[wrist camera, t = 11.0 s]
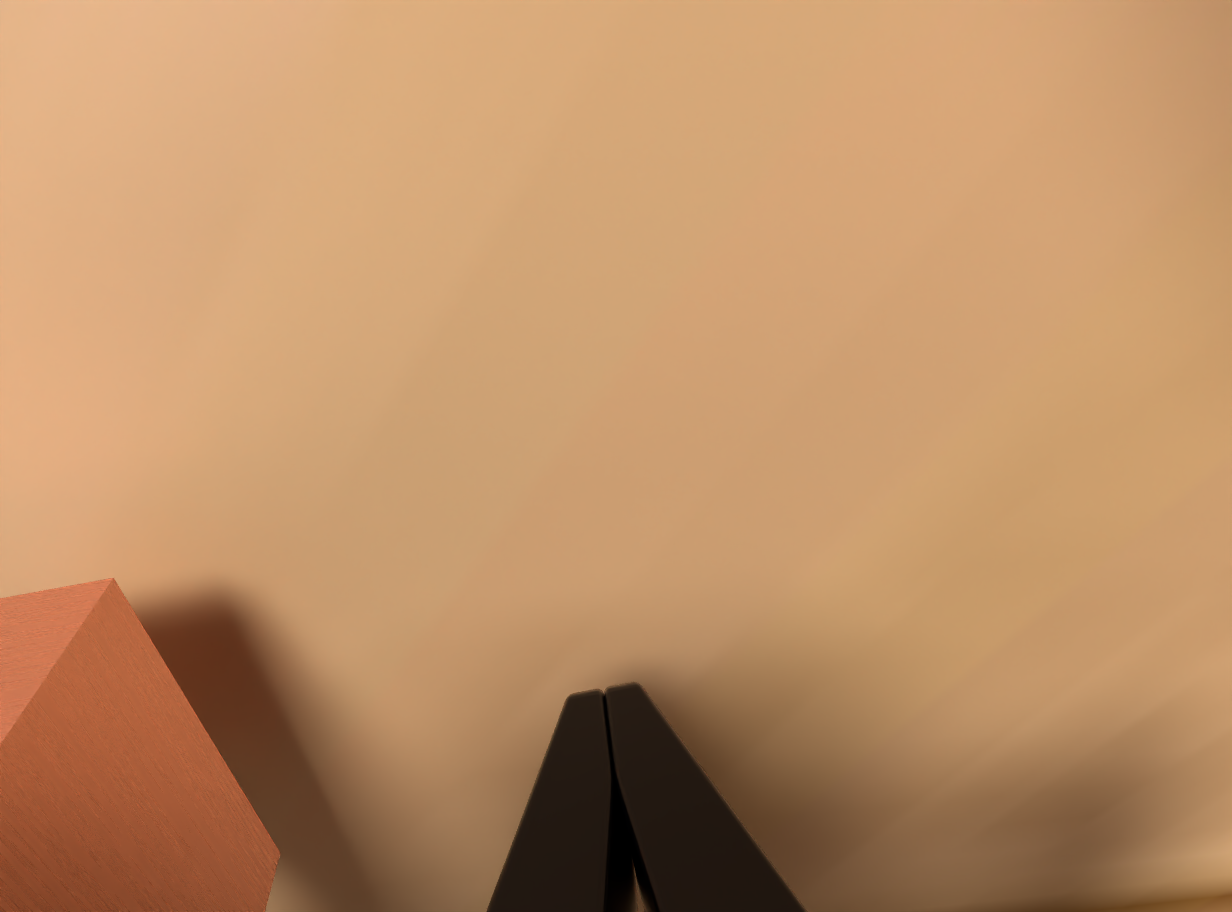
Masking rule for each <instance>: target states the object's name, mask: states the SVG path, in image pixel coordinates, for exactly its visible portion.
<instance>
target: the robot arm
mask: <svg viewBox="0 0 1232 912" xmlns="http://www.w3.org/2000/svg"><path fill="white" fill-rule="evenodd" d="M634 868H635V872H634ZM635 873H636V878H637V882H638V887H639V891H640V895H641V899H642V903H643V907H644V910H645V912H807V911H806V909H805V908H804V906H803V905H802V904H801V902H800V901H799V900H798V898H797V897H796V895H795V894H794V893H793V891H792V890H791V889H790V887H789V886H788V885H787V883H786V882H785V880H784V879H783V878H782V876H781V875H780V874H779V872H778V871H777V870H776V868H775V867H774V865H773V864H772V863H771V861H770V860H769V859H768V857H767V856H766V855H765V853H764V852H763V850H762V849H761V848H760V846H759V845H758V844H757V842H756V841H755V840H754V838H753V837H752V835H751V834H750V833H749V831H748V830H747V829H746V827H745V826H744V825H743V823H742V822H741V820H740V819H739V818H738V816H737V815H736V814H735V812H734V811H733V810H732V808H731V807H730V805H729V804H728V803H727V801H726V800H725V799H724V797H723V796H722V795H721V793H720V792H719V790H718V789H717V788H716V786H715V785H714V784H713V782H712V781H711V779H710V778H709V777H708V775H707V774H706V773H705V771H704V770H703V769H702V767H701V766H700V764H699V763H698V762H697V760H696V759H695V758H694V756H693V755H692V754H691V752H690V751H689V749H688V748H687V747H686V745H685V744H684V743H683V741H682V740H681V739H680V737H679V736H678V734H677V733H676V732H675V730H674V729H673V728H672V726H671V725H670V724H669V722H668V721H667V719H666V718H665V717H664V715H663V714H662V713H661V711H660V710H659V709H658V707H657V706H656V704H655V703H654V702H653V700H652V699H651V698H650V696H649V695H648V694H647V692H646V691H645V689H644V688H643V687H642V686H641V685H640V684H639V683H637V682H630V683H625V684H620V685H615V686H610V687H608V688H606V690H605V696H604V693H603V692H602V690H600V689H593V690H588V691H583V692H578V693H573V694H570V695H569V696H568V697H567V699H566V701H565V703H564V706H563V708H562V711H561V714H560V716H559V719H558V722H557V724H556V727H555V730H554V733H553V735H552V738H551V741H550V743H549V746H548V749H547V751H546V754H545V757H544V759H543V762H542V765H541V767H540V770H539V773H538V775H537V778H536V781H535V783H534V786H533V789H532V791H531V794H530V797H529V799H528V802H527V805H526V807H525V810H524V813H523V815H522V818H521V821H520V823H519V826H518V829H517V831H516V834H515V837H514V839H513V842H512V845H511V847H510V850H509V853H508V855H507V858H506V861H505V863H504V866H503V869H502V871H501V874H500V877H499V879H498V882H497V885H496V887H495V890H494V893H493V895H492V898H491V901H490V903H489V906H488V909H487V911H486V912H638V904H637V890H636V880H635Z"/></svg>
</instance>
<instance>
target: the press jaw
mask: <svg viewBox="0 0 1232 912" xmlns="http://www.w3.org/2000/svg"><path fill="white" fill-rule="evenodd" d="M279 857H280V852H279V850H278V848H277V847H276V845H275V843H274V842H273V840H272V838H271V837H270V835H269V833H268V832H267V830H266V828H265V827H264V825H263V824H262V822H261V820H260V819H259V817H258V815H257V814H256V812H255V810H254V809H253V807H252V805H251V804H250V802H249V800H248V799H247V797H246V796H245V794H244V792H243V791H242V789H241V787H240V786H239V784H238V782H237V781H236V779H235V777H234V776H233V774H232V772H231V771H230V769H229V767H228V766H227V764H226V763H225V761H224V759H223V758H222V756H221V754H220V753H219V751H218V749H217V748H216V746H215V744H214V743H213V741H212V739H211V738H210V736H209V735H208V733H207V731H206V730H205V728H204V726H203V725H202V723H201V721H200V720H199V718H198V716H197V715H196V713H195V711H194V710H193V708H192V706H191V705H190V703H189V702H188V700H187V698H186V697H185V695H184V693H183V692H182V690H181V688H180V687H179V685H178V683H177V682H176V680H175V678H174V677H173V675H172V673H171V672H170V670H169V669H168V667H167V665H166V664H165V662H164V660H163V659H162V657H161V655H160V654H159V652H158V650H157V649H156V647H155V645H154V644H153V642H152V641H151V639H150V637H149V636H148V634H147V632H146V631H145V629H144V627H143V626H142V624H141V622H140V621H139V619H138V617H137V616H136V614H135V612H134V611H133V609H132V608H131V606H130V604H129V603H128V601H127V599H126V598H125V596H124V594H123V593H122V591H121V589H120V588H119V586H118V584H117V583H116V581H115V580H114V578H110V579H105V580H99V581H94V582H88V583H83V584H77V585H72V586H66V587H61V588H55V589H50V590H44V591H39V592H33V593H28V594H22V595H17V596H11V597H6V598H0V912H265V909H266V906H267V902H268V898H269V894H270V890H271V887H272V883H273V879H274V875H275V872H276V868H277V864H278V860H279Z"/></svg>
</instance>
